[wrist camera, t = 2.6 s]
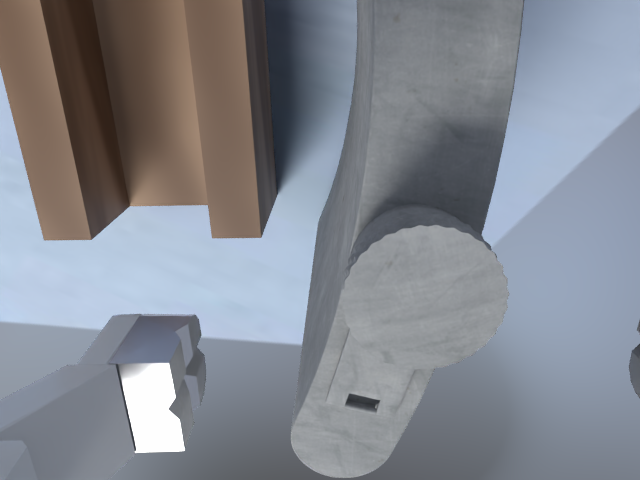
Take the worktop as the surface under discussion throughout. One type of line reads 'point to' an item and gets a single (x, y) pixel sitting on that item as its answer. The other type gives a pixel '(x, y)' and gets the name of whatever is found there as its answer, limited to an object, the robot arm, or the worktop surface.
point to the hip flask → (406, 225)
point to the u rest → (141, 109)
